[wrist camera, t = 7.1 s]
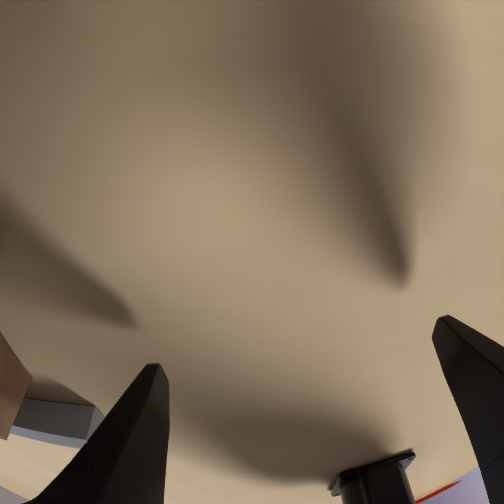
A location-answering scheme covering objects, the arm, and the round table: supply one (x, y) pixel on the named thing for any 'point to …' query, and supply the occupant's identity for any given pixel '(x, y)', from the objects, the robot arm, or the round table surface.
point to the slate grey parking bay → (56, 422)
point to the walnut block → (10, 386)
